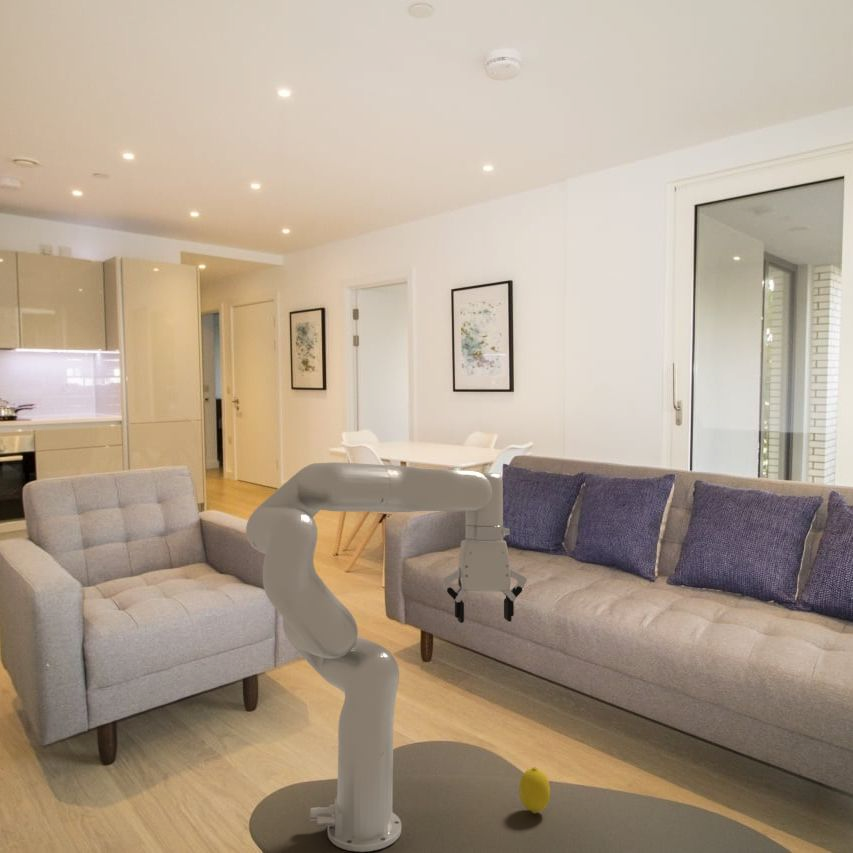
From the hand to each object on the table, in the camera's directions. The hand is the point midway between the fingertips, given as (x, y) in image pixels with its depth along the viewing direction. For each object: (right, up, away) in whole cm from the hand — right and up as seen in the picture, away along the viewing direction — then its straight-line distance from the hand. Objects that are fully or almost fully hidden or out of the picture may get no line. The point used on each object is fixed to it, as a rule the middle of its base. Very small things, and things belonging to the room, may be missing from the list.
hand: (484, 620), depth 128 cm
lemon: (+8, -32, -11) cm, 35 cm away
